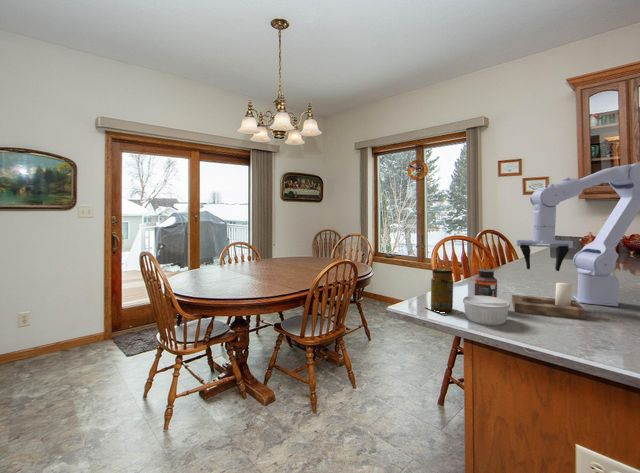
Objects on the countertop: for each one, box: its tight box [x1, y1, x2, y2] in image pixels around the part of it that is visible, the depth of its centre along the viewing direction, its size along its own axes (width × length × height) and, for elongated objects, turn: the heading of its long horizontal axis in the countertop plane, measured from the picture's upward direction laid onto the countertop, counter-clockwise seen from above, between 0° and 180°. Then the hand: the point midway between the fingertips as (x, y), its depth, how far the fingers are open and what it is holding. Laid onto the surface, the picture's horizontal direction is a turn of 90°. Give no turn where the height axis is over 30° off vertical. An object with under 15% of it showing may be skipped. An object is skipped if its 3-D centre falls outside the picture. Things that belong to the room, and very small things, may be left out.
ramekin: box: [462, 295, 511, 326], centre depth 87 cm, size 11×11×5 cm
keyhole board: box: [511, 294, 586, 320], centre depth 94 cm, size 16×11×2 cm
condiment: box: [430, 267, 465, 316], centre depth 95 cm, size 7×8×12 cm
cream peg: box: [554, 282, 573, 306], centre depth 93 cm, size 4×4×8 cm
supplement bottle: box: [474, 268, 498, 298], centre depth 97 cm, size 6×6×11 cm
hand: (542, 269), depth 103 cm, fingers open, 7 cm apart
